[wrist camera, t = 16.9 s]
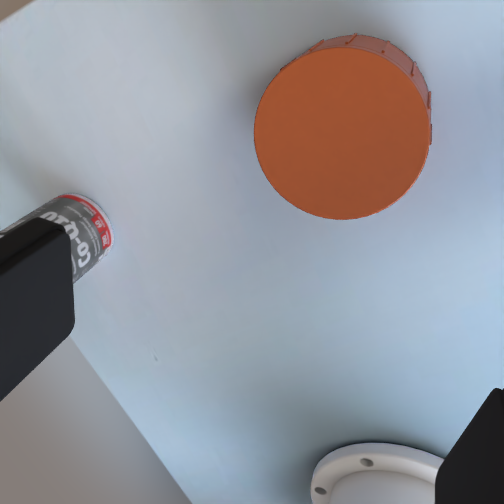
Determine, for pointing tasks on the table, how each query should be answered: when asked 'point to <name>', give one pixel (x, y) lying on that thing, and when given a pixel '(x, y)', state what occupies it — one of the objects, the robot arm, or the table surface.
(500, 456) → the robot arm
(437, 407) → the table surface
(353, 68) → the thermos lid
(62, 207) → the pill bottle
